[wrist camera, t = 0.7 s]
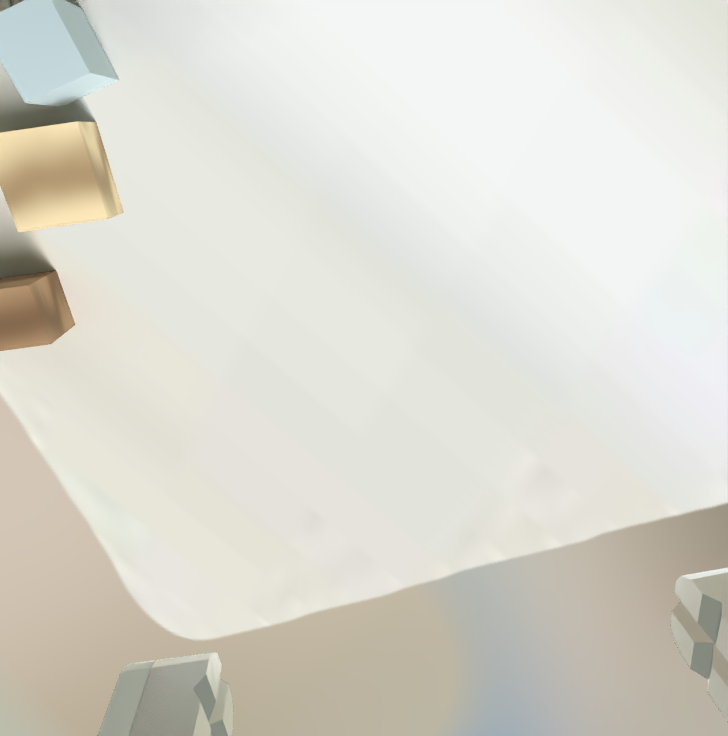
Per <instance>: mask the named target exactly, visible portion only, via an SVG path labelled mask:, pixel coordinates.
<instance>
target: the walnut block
mask: <svg viewBox="0 0 728 736" xmlns="http://www.w3.org/2000/svg"><path fill="white" fill-rule="evenodd" d="M74 325H75V323H74V320H73V317H72V314H71V311H70V308H69V306H68V303H67V300H66V297H65V294H64V291H63V289H62V286H61V283H60V280H59V277H58V274H57V272H56V271H50V272H43V273H35V274H28V275H20V276H13V277H5V278H0V351H4V350H11V349H19V348H26V347H33V346H40V345H48V344H52V343H53V342H54V341H55V340H57V339H58V338H59V337H60V336H62V335H63V334H64V333H65V332H67V331H68V330H69V329H70V328H72V327H73V326H74Z"/></svg>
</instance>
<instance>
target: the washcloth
mask: <svg viewBox="0 0 728 736" xmlns="http://www.w3.org/2000/svg"><path fill="white" fill-rule="evenodd" d="M20 2H21V0H0V12H1V11H3V10H5V9H7V8H9V7H11V6H14V5H16V4H18V3H20Z"/></svg>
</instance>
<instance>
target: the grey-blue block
mask: <svg viewBox="0 0 728 736" xmlns="http://www.w3.org/2000/svg"><path fill="white" fill-rule="evenodd" d="M0 62H1V64H2V65H3V67H4V69H5V70H6V72H7V74H8V75H9V77H10V79H11V80H12V82H13V84H14V85H15V87H16V89H17V90H18V92H19V94H20V95H21V97H22V99H23V100H24V102H25V103H29V104H41V105H52V106H64V105H66V104H69V103H71V102H73V101H75V100H77V99H79V98H82V97H84V96H86V95H88V94H90V93H92V92H95V91H97V90H99V89H101V88H103V87H105V86H108V85H110V84H112V83H114V82H116V81H118V80H119V78H118V76H117V75H116V73H115V71H114V69H113V67H112V65H111V63H110V61H109V59H108V57H107V55H106V53H105V52H104V50H103V48H102V46H101V44H100V42H99V40H98V38H97V36H96V34H95V32H94V30H93V29H92V27H91V25H90V23H89V21H88V19H87V17H86V15H85V13H84V11H83V9H82V8H80V7H78V6H76V5H74V4H72V3H70V2H68V1H66V0H24V1H22V2H20V3H18V4H16V5H14V6H11V7H9V8H7V9H5V10H3V11H1V12H0Z"/></svg>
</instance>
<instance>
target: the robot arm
mask: <svg viewBox="0 0 728 736" xmlns="http://www.w3.org/2000/svg"><path fill="white" fill-rule="evenodd" d="M674 593H675V594H676V595H677V597H678V598H679V599H680V602H679V604H678V605H677V606H676V607H675V608H674V609H673V610H672V614H671V629H672V633H673V637H674V641H675V644H676V645H677V648H678V649H679V652H680V654H681V655H682V657H683V659H684V660H685V661H686V663H687V664H688V666H689V667H690V669H692V670H694V671H695V672H697V673H698V674H700V675H702V676H704V677H705V678H707V679H708V689H707V690H708V691H707V693H708V695H709V696H710V697H711V699H712V700H713V702H714V703H715V705H716V706H717V707H718V709H719V710H720V712H721V713H722V715H723V716H724V717H725V719H726V720H727V722H728V568H723V569H718V570H711V571H706V572H700V573H695V574H689V575H683V576H680V577H679V578H678V580H677V581H676V584H675V590H674ZM221 669H222V664H221V661H220V659H219V657H218V654H217V653H216V652H212V653H204V654H196V655H189V656H182V657H174V658H167V659H159V660H153V661H147V662H140V663H133V664H127V665H126V667H125V668H124V669H123V671H122V672H121V673H120V675H119V678H118V681H117V683H116V686H115V689H114V692H113V694H112V697H111V700H110V703H109V705H108V708H107V711H106V713H105V716H104V719H103V722H102V724H101V727H100V730H99V732H98V735H97V736H232V733H233V701H232V695H231V691H230V688H229V685H228V683H227V682H225V681H224V680H222V679H221V678H220V675H221Z"/></svg>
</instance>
